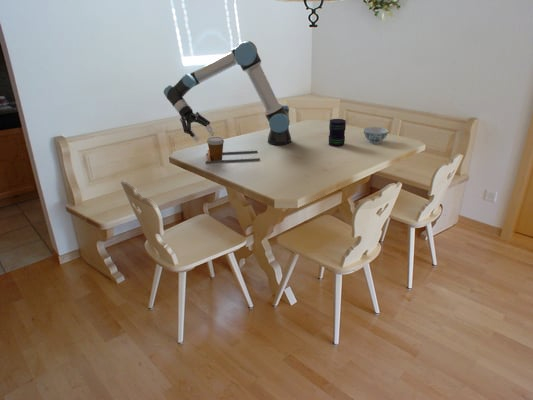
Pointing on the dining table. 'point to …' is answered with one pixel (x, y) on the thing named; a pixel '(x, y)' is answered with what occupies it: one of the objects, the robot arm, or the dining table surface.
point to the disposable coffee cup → (215, 148)
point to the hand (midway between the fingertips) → (205, 137)
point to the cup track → (232, 160)
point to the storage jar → (337, 132)
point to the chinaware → (375, 134)
